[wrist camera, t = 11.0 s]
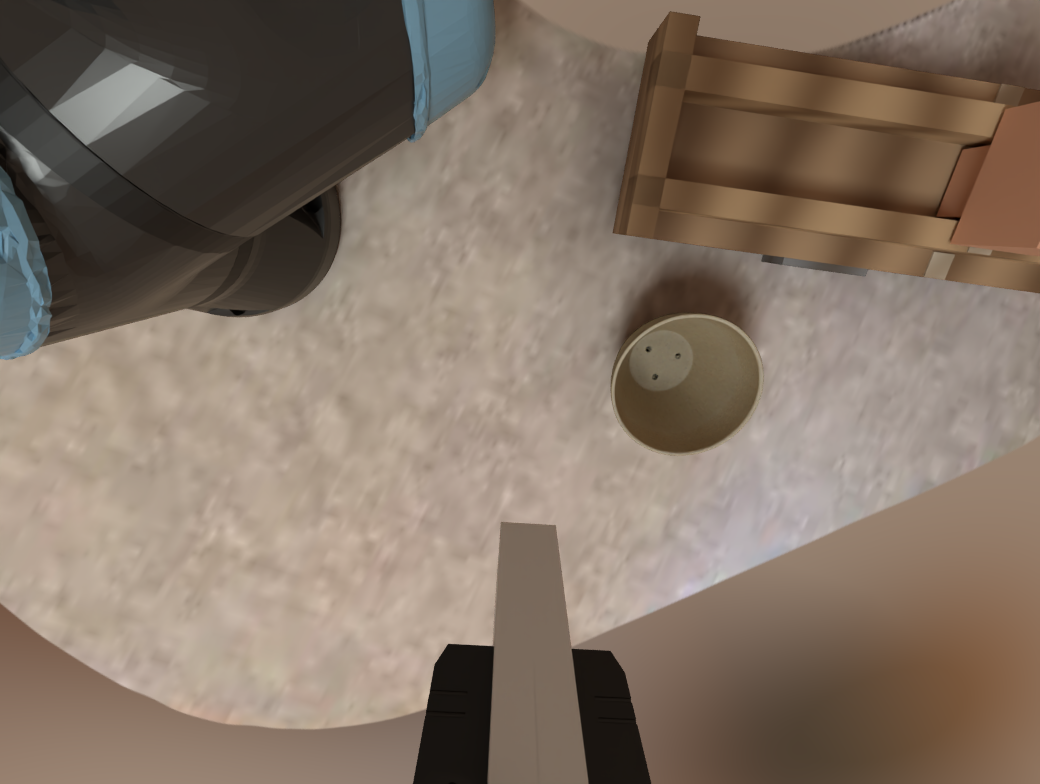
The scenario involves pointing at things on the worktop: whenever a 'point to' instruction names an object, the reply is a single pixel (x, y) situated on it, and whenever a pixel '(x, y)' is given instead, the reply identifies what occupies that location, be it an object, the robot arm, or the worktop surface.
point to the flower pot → (686, 383)
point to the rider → (999, 188)
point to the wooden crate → (808, 158)
